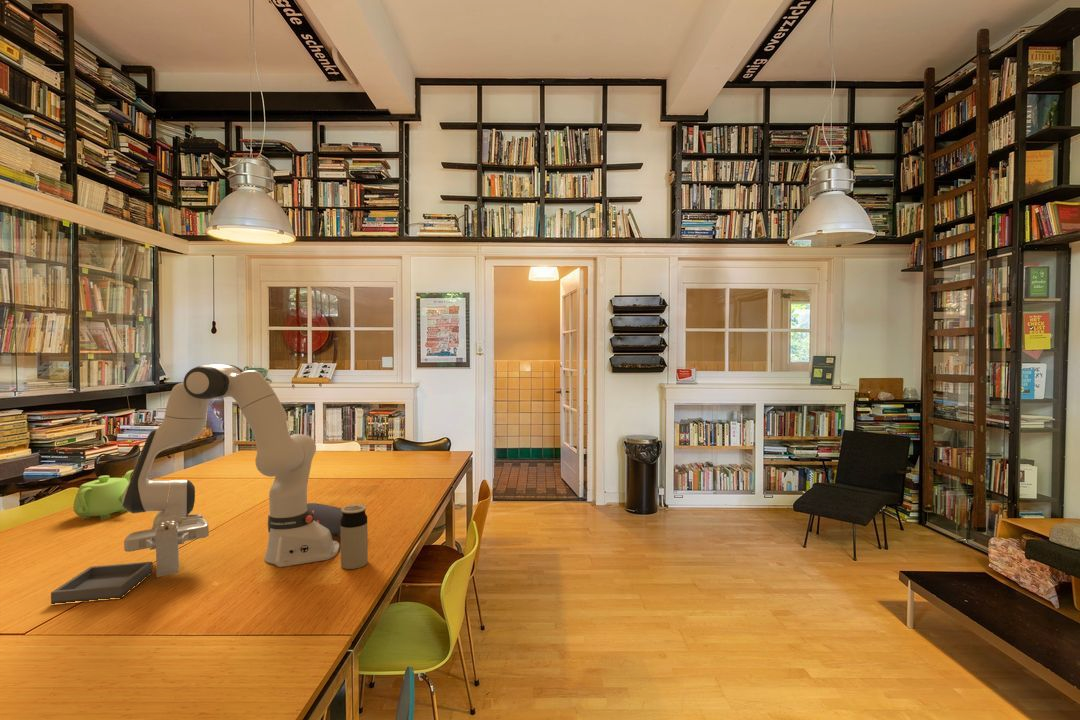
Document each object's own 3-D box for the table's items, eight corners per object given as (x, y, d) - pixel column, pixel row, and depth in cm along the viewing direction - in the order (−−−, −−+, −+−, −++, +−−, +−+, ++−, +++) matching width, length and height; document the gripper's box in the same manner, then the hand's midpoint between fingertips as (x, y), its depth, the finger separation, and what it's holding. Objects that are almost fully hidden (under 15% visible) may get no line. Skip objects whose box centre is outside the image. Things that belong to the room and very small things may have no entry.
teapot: (114, 524, 193) (113, 483, 192) (59, 524, 193) (58, 483, 193) (164, 503, 218) (163, 467, 217) (115, 503, 218) (114, 467, 218)
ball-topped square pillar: (179, 566, 148) (177, 517, 148) (178, 572, 144) (177, 522, 143) (157, 570, 145) (156, 520, 145) (156, 577, 141) (155, 525, 141)
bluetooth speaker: (297, 532, 185) (296, 505, 185) (318, 524, 194) (318, 498, 193) (339, 543, 175) (339, 515, 174) (360, 534, 183) (360, 507, 183)
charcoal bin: (152, 572, 152) (152, 561, 152) (121, 599, 136) (120, 586, 136) (90, 578, 148) (90, 566, 148) (51, 605, 132) (50, 592, 132)
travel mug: (358, 571, 153) (358, 513, 153) (335, 568, 155) (335, 511, 154) (372, 560, 161) (372, 504, 160) (350, 558, 162) (349, 503, 162)
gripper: (125, 526, 149) (119, 541, 138) (207, 513, 161) (208, 525, 149) (126, 547, 149) (120, 564, 138) (208, 532, 161) (209, 546, 149)
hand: (167, 544), depth 144 cm, fingers closed on ball-topped square pillar, 5 cm apart
